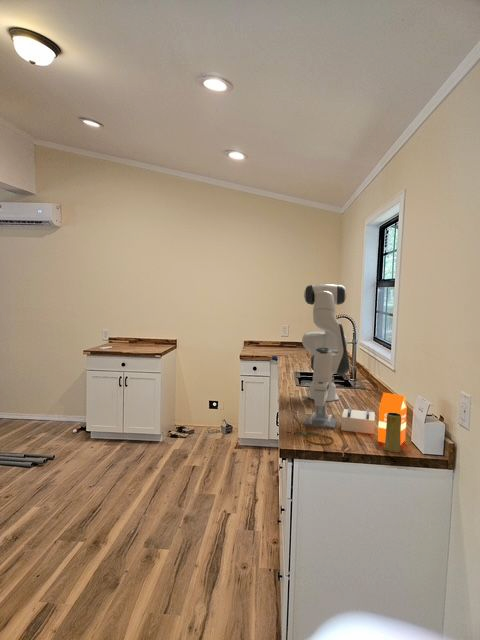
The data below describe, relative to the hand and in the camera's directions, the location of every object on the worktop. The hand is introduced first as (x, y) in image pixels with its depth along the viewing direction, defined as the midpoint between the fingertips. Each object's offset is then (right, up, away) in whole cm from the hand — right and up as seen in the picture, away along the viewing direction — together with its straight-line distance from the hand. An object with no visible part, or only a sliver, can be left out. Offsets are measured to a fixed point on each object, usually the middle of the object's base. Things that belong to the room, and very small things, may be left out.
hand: (321, 411), depth 197 cm
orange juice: (+25, -8, -22) cm, 34 cm away
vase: (+22, -8, -32) cm, 40 cm away
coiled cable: (-6, -7, -21) cm, 23 cm away
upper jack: (+16, -6, -5) cm, 18 cm away
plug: (0, -3, 0) cm, 3 cm away
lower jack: (0, -5, 0) cm, 5 cm away
